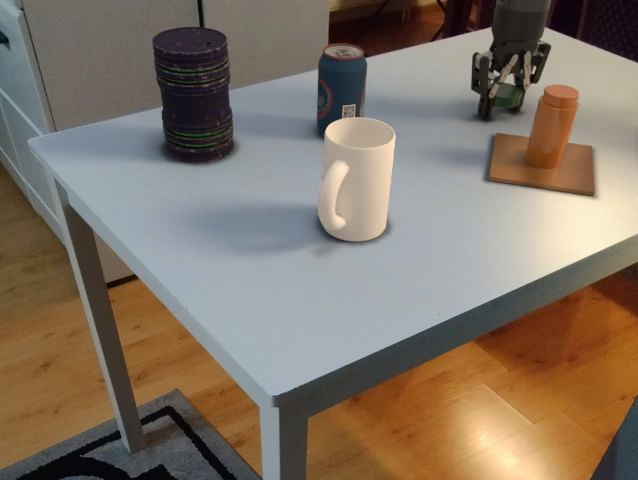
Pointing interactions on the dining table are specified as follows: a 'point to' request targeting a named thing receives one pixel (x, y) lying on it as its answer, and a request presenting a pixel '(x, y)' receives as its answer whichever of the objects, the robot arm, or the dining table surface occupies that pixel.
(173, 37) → the dark ridged cylinder
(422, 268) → the dining table surface
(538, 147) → the jar
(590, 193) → the mat
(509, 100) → the jar lid
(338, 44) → the soda can
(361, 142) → the mug
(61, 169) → the dining table surface
